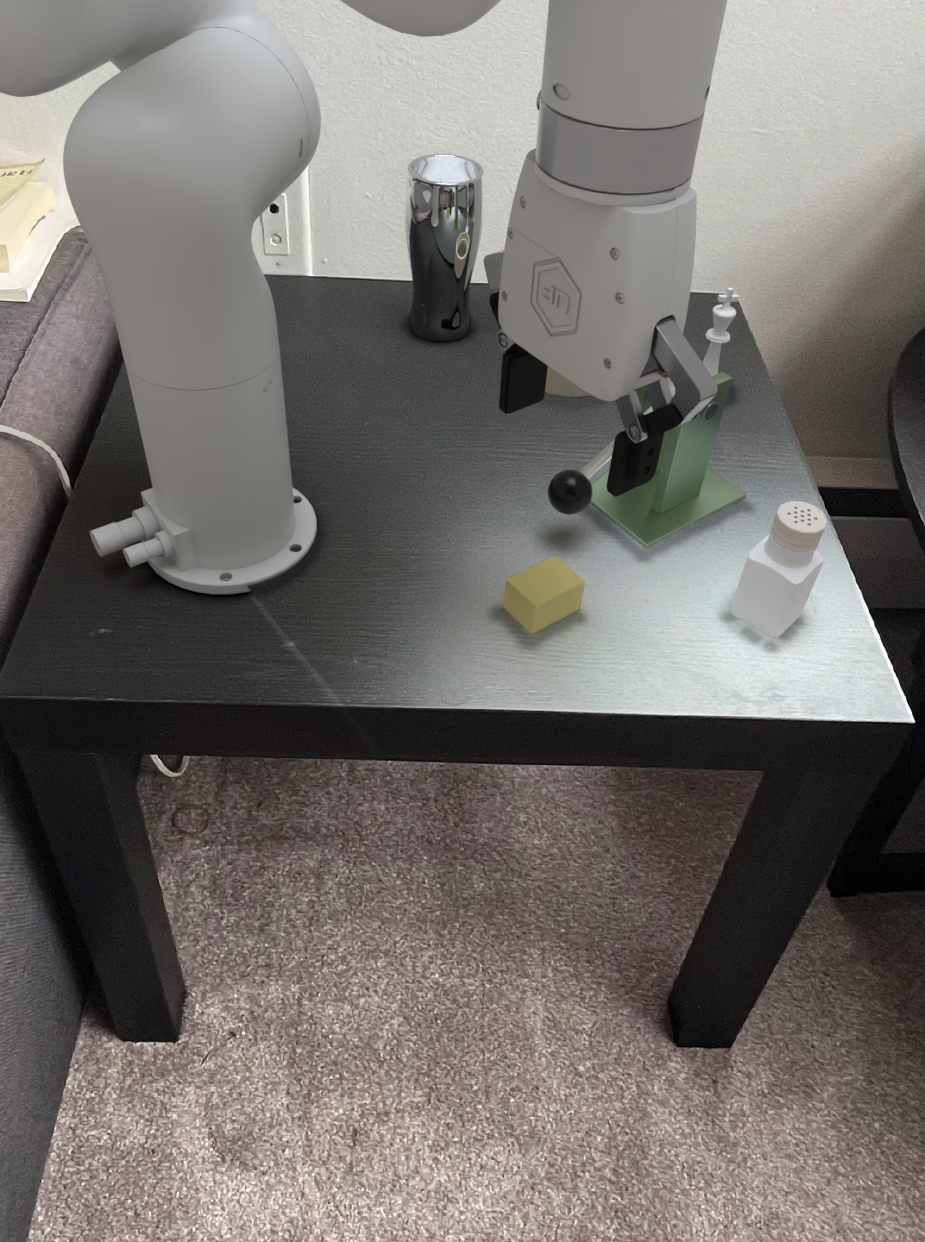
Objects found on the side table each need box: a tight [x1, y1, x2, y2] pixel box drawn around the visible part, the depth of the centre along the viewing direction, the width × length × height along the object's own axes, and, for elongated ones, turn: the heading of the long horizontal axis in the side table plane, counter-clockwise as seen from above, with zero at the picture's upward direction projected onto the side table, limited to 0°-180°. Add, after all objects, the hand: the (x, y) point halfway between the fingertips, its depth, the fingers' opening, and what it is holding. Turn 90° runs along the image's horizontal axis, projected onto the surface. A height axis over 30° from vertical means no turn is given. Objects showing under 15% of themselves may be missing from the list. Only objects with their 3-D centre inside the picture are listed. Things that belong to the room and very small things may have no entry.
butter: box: [502, 555, 586, 635], centre depth 67 cm, size 4×3×4 cm
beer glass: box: [404, 153, 484, 343], centre depth 90 cm, size 7×7×15 cm
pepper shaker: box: [728, 500, 829, 639], centre depth 66 cm, size 4×4×10 cm
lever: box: [547, 377, 675, 516], centre depth 71 cm, size 14×3×3 cm, turn 127°
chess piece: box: [702, 287, 740, 376], centre depth 86 cm, size 5×5×10 cm
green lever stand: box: [589, 371, 747, 549], centre depth 74 cm, size 11×9×12 cm
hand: (573, 444), depth 58 cm, fingers open, 9 cm apart
